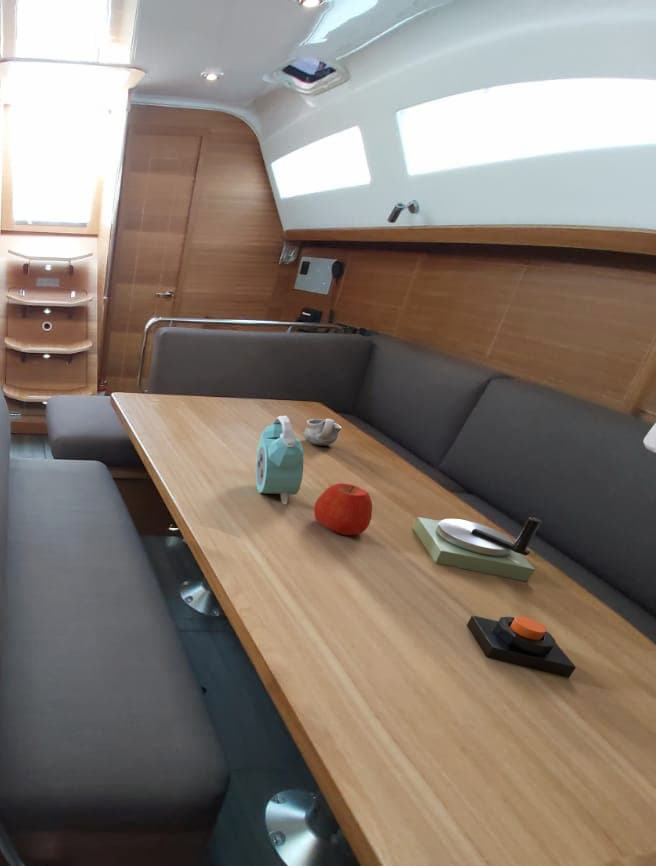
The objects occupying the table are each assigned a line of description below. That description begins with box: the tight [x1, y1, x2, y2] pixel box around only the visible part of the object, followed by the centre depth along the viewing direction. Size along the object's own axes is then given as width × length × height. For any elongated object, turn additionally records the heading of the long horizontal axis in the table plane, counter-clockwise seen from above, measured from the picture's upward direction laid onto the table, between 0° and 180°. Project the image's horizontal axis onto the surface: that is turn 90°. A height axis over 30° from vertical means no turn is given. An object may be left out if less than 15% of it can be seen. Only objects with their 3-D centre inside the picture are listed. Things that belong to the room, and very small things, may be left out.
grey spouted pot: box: [303, 418, 342, 447], centre depth 158 cm, size 10×12×10 cm
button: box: [510, 615, 547, 641], centre depth 77 cm, size 4×4×2 cm
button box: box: [466, 615, 577, 679], centre depth 78 cm, size 10×8×4 cm
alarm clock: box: [255, 415, 305, 505], centre depth 123 cm, size 17×10×20 cm, turn 165°
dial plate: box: [412, 516, 536, 583], centre depth 104 cm, size 15×15×3 cm
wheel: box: [437, 516, 543, 556], centre depth 100 cm, size 14×12×9 cm
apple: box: [313, 482, 373, 536], centre depth 110 cm, size 11×11×11 cm
